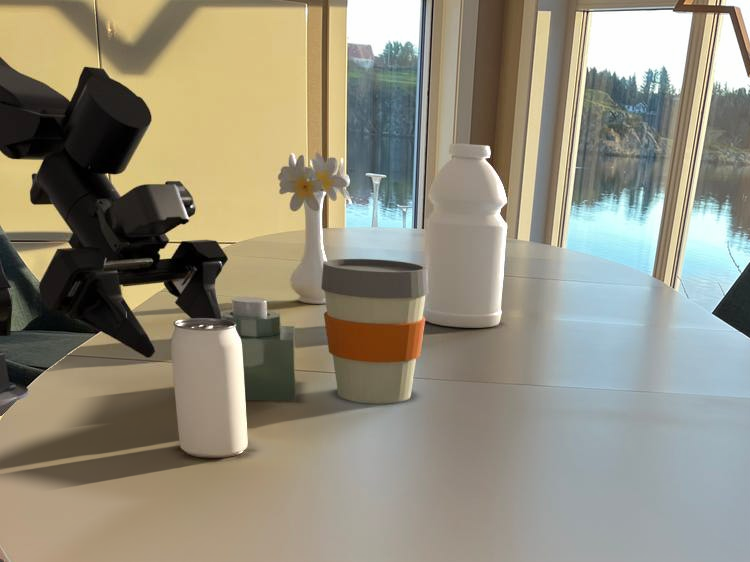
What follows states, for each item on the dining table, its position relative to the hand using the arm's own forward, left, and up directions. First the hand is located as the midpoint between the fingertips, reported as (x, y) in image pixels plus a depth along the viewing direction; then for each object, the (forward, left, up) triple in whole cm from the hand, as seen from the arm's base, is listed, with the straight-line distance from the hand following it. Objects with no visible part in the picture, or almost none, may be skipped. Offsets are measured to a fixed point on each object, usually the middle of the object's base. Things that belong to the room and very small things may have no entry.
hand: (189, 347), depth 89 cm
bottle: (+12, +85, -10) cm, 87 cm away
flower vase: (-17, +93, -10) cm, 95 cm away
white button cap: (-3, +23, -1) cm, 23 cm away
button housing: (-3, +23, -9) cm, 25 cm away
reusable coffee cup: (+11, +27, -10) cm, 31 cm away
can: (+2, -1, -10) cm, 10 cm away
